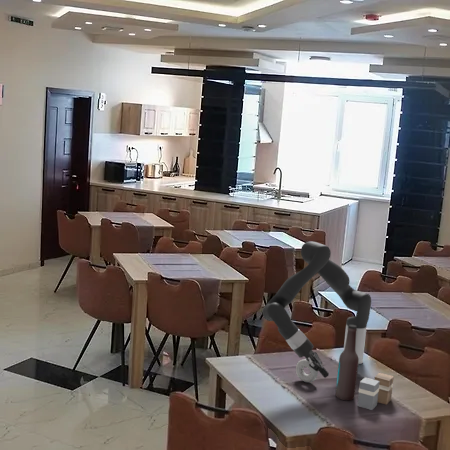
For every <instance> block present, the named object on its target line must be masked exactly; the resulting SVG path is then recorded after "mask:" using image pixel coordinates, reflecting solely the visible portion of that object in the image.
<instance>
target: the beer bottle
mask: <svg viewBox="0 0 450 450" xmlns="http://www.w3.org/2000/svg"><path fill="white" fill-rule="evenodd" d="M356 331H357V326H356V325H348V333H347V339H346V345H345V349H344V348H343V351H342V352H341V353H340V355H339V358H338V367H337V376H336V387H335V396H336V398H337V399H339V400H342V401H352V400H354V399H355V396H356V389H357V380H358V379H357V377H358V367H359V364H358V361H359V358H358V355H357V353H356V351H355V346H356Z"/></svg>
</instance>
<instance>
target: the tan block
mask: <svg viewBox="0 0 450 450" xmlns="http://www.w3.org/2000/svg"><path fill="white" fill-rule="evenodd" d="M394 378H395V377H394V375H390V374H386V373H382V372H378V373H377V374H376V375H375V376H374V379H373V380H377V381H380V383H379V392H378V400H377V403H379V404H384V405H388V404H389V403H390V402H391V401H392V396H393V387H394Z"/></svg>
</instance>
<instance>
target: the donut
mask: <svg viewBox="0 0 450 450" xmlns="http://www.w3.org/2000/svg"><path fill="white" fill-rule="evenodd" d="M309 364H310V363H308V362H307V361H306V358H303V359H301V360H298V362H297V364H296V366H295V373H296V376H297V378H298V379H299V380H300V381H302V382H304V383H313V382H314V381H316V379H317V377H318V375H319V371H318V372H317V371H315V370H314V369H313V368H311V367H310V366H309ZM304 368H308V370H309V374H308V373H306V372H305V370H304Z"/></svg>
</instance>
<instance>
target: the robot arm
mask: <svg viewBox="0 0 450 450" xmlns="http://www.w3.org/2000/svg"><path fill="white" fill-rule="evenodd" d="M331 253H332V252H331V248H330V247H329V246H328V245H325V244H322V243H320V242H317V241H312V240H311V241H306V242H304V243H303V245H302V246H301V248H300V254H301V255H300V256H301V258H302V260H303V261H304V262H305V263H306V264H307V266H305V267H303V268H302V269H301V270H300V271H298V272H296V273H295V274H293V275H291V276H290V277H288V278H287V279H286V280H285V281H284V282H283V284H281V287H280V288H279V289H278V291H277V292H276V293H275V295H274V296H273V297H272V298H270V299H269V300H268V302H267V303H266V304H265V305H264V307H263V309H262V316H263V318H264V320H266V321H267V322H274V324H275V325H276V326H277V331H278V332H279V334H280V335H281V336H282V338H283V339H284V340H285V342H286V343H287V345H288V346H289V347H290V348H291V350H292V351H294V353H295V354H296V355H297V357H299V358H300V359H302V358H303V357H304V359H306V361H307V362H308V363H310V364H309V366H310V367H311V368H313V369H314V370H315V371H317V372H318V373H320V374H321V375H322V376H323V378H325V379H326V378H328V377H329V375H330V374H329V372H328V371H327V369H326V368H325V367H324V365H323V364H324V363H323V362H322V360H321V358H320V356H319V355H318V353H317V351H313V349H314V344H313V343H312V342H311V341H310V339H309V338H308V337H307V336H306V335H305V333H304V332H303V331H301V330H300V329H299V327H298V326H297V325H296V323H294V322H293V320H292V319H291V317H290V315H289V313H288V312H287V310H286V309H285V308H286V307H287V306H288V305H289V304H291V303H292V302H293V300H294V299H295V298H296V297H297V296H298V294H299V293H300V291H301V290H302V288H303V287H305V285H306V284H307V283H308V282H309V281H310V280H311V279H312V278H314V277H315V275H316V274H318V275H319V276H320V277H321V278H322V279H323V281H324V282H325V283H326V284H327V285H328V286H329V288H331V289H332V290H333V291H334V292H335V293H336V294H337V295H338V297H339V298H340V300H341V301H342V302H343V304H344V306H345V308H347V309H349V310H352V311H354V312H356V313H355V316H349V317H347V319H346V324H345V333H344V344H343V350H344V349H345V345H346V339H347V333H348V325H356V326H357V331H356V346H355V351H356V353H357V355H358V358H359V361H358V365H361V364H363V362H364V352H365V344H366V343H365V342H366V337H367V336H366V334H367V327H368V326H367V325H368V322H369V319H370V312H371V307H372V297H371V295H370V294H369V293H367V292H363V291H361V290H356V289H354V288H353V287H351V285H350V277H349V275H348V274H347V273H346V271H345V270H344V269H343V268H342V267H341V266H340V265H339V264H338V263H335V261H332V260H331Z"/></svg>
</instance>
